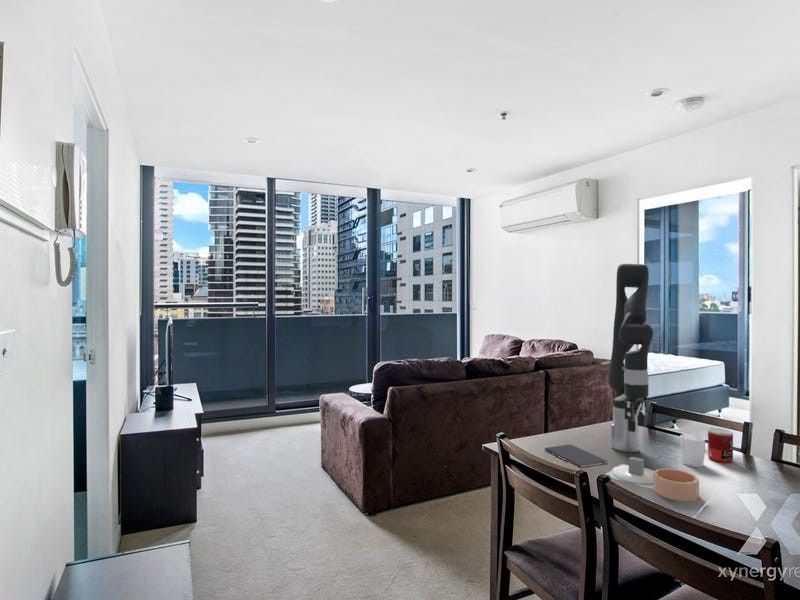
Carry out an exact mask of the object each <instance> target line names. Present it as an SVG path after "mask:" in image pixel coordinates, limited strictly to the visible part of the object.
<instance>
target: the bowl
mask: <svg viewBox="0 0 800 600" xmlns="http://www.w3.org/2000/svg"><path fill="white" fill-rule="evenodd" d="M653 471H654V472H653V488H654V489H653V490H654V492H655V494H657V495H659V496H661V498H662V497H663V498H664V499H669V500H671V501H677V502H694V501H697V500H698V499H699V496H700V479H699V478H698V476H696V475H695V474H693V473H691V472H688V471H685V470H680V469H675V468H666V467H665V468H658V469H656V470H653Z"/></svg>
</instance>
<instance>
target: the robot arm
mask: <svg viewBox="0 0 800 600" xmlns="http://www.w3.org/2000/svg"><path fill="white" fill-rule="evenodd" d="M649 274H650V273H649V267H648V266H647V265H646V264H641V263H636V264H635V263H621V264H619V265H618V267H617V270H616V285H615V286H616V287H615V289H616V292H615V293H616V294H615V295H616V296H615V297H616V299H615V311H614V319H613V320H614V321H613V330H612V331H613V332H612V333H613V338H612V350H611V357H610V362H609V363H610V364H609V367H608V368H609V369H608V376H607V377H608V378H607V379H608V384H609V387H610V389H611V390H614V391H623V393H622V394H621V395H619V396H616V397H615V398H614V399H612V424H611V425H610V445H611V447H610V448H611V449H614V450H616V451H620V452H624V453H636V452H638V451H639V427H641V428H642V427H643V428H644V427H645V426H646V417H645V416H647V415H646V414H648V412H649V411H648V408H649V407H648V398H649V394H650V393H649V371H648V355H649V350H650V347H651V344H652V340H653V338H654V329H653V328H652V326H650V324H646V323H647V306H646V305H647V304H646V303H647V297H648V290H649V289H648V287H649V279H650V276H649ZM626 288H633V289H635V288H637V289H636V291H635V292H633V293H632V294H631V295H630V296H629V297H627V294H626ZM634 345H635V346H636V345H638V346H639V345H641V346H640V348H638V349H636V350H631V349H633V347H634Z"/></svg>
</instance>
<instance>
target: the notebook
mask: <svg viewBox="0 0 800 600" xmlns="http://www.w3.org/2000/svg"><path fill="white" fill-rule="evenodd" d="M545 450H547V451H549V452H551V453H553V454H555V455H557V456H560V457H562V458H564V459H566V460H568V461H570V462H572V463H573V465H574V464H575V466H576V465H577V466H576V467H578V468H583V467H584V468H585V467H592V466H599V465H605V464H607V463H608V460H606V459H605V458H602V457H600V456H597V455H595V454H593V453H590V452H589V451H586V450H584V449H582V448H579V447H578V446H575V445H573V444H565V445H558V446H550V447H544V451H545ZM547 451H546V452H547ZM549 452H548V453H549ZM551 453H550V454H551ZM553 454H552V455H553ZM555 455H554V456H555ZM557 456H556V457H557ZM570 462H569V463H570ZM572 463H571V464H572Z"/></svg>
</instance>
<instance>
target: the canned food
mask: <svg viewBox="0 0 800 600" xmlns="http://www.w3.org/2000/svg"><path fill="white" fill-rule="evenodd" d="M707 456H708V457H707V458H708V459H709V460H711V461H712V462H715V463H720V464H732V463H733V460H734V432H733V431H730V430H727V429H725V428H719V427H718V428H716V427H715V428H711V427H710V428H708V429H707Z"/></svg>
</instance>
